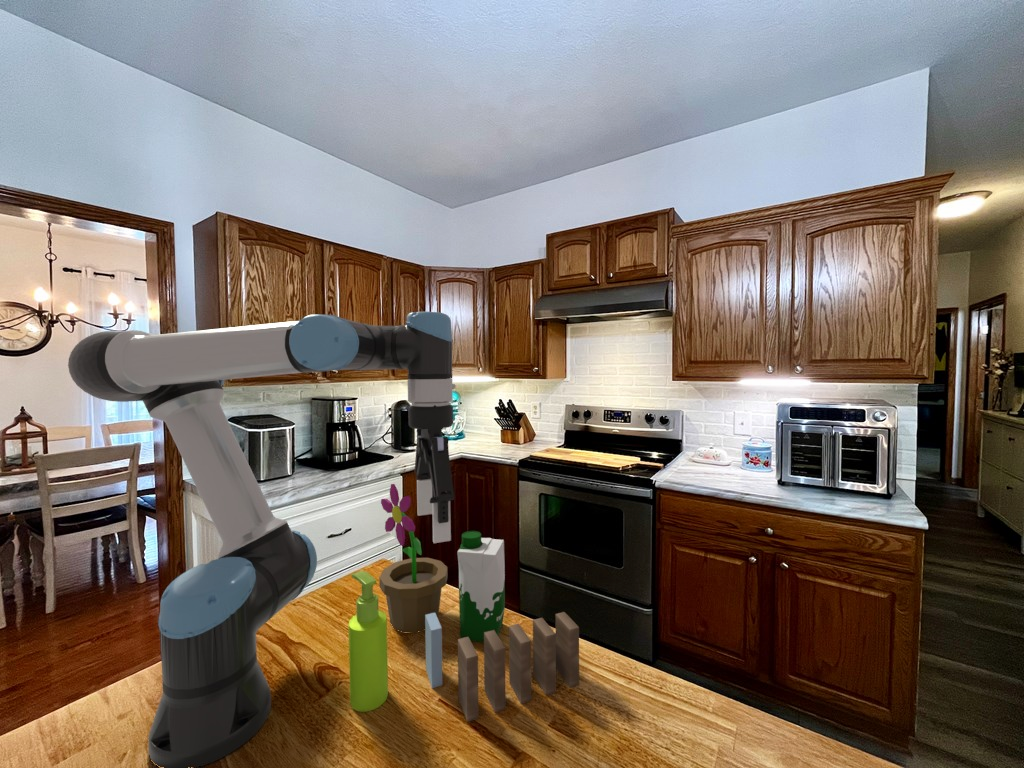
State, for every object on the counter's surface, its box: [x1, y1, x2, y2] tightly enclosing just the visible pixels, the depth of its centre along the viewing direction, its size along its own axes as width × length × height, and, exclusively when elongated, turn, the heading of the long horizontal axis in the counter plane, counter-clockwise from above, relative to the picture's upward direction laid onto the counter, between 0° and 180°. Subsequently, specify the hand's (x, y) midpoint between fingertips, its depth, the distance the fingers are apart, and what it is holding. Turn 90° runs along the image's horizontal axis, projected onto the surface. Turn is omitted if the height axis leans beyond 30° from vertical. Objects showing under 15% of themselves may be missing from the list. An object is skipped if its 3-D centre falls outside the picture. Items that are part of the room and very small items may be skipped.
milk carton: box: [456, 530, 506, 643], centre depth 87 cm, size 9×9×20 cm
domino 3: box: [483, 630, 507, 713], centre depth 70 cm, size 2×5×10 cm, turn 23°
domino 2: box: [457, 637, 479, 723], centre depth 68 cm, size 2×5×10 cm, turn 23°
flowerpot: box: [378, 483, 448, 633], centre depth 92 cm, size 14×14×30 cm
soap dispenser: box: [348, 570, 389, 712], centre depth 70 cm, size 6×7×20 cm
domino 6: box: [555, 611, 580, 688], centre depth 75 cm, size 2×5×10 cm, turn 23°
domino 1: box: [424, 613, 443, 689], centre depth 75 cm, size 2×5×10 cm, turn 23°
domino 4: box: [508, 623, 532, 705], centre depth 71 cm, size 2×5×10 cm, turn 23°
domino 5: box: [532, 617, 557, 696], centre depth 73 cm, size 2×5×10 cm, turn 23°
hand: (432, 526), depth 74 cm, fingers open, 13 cm apart
